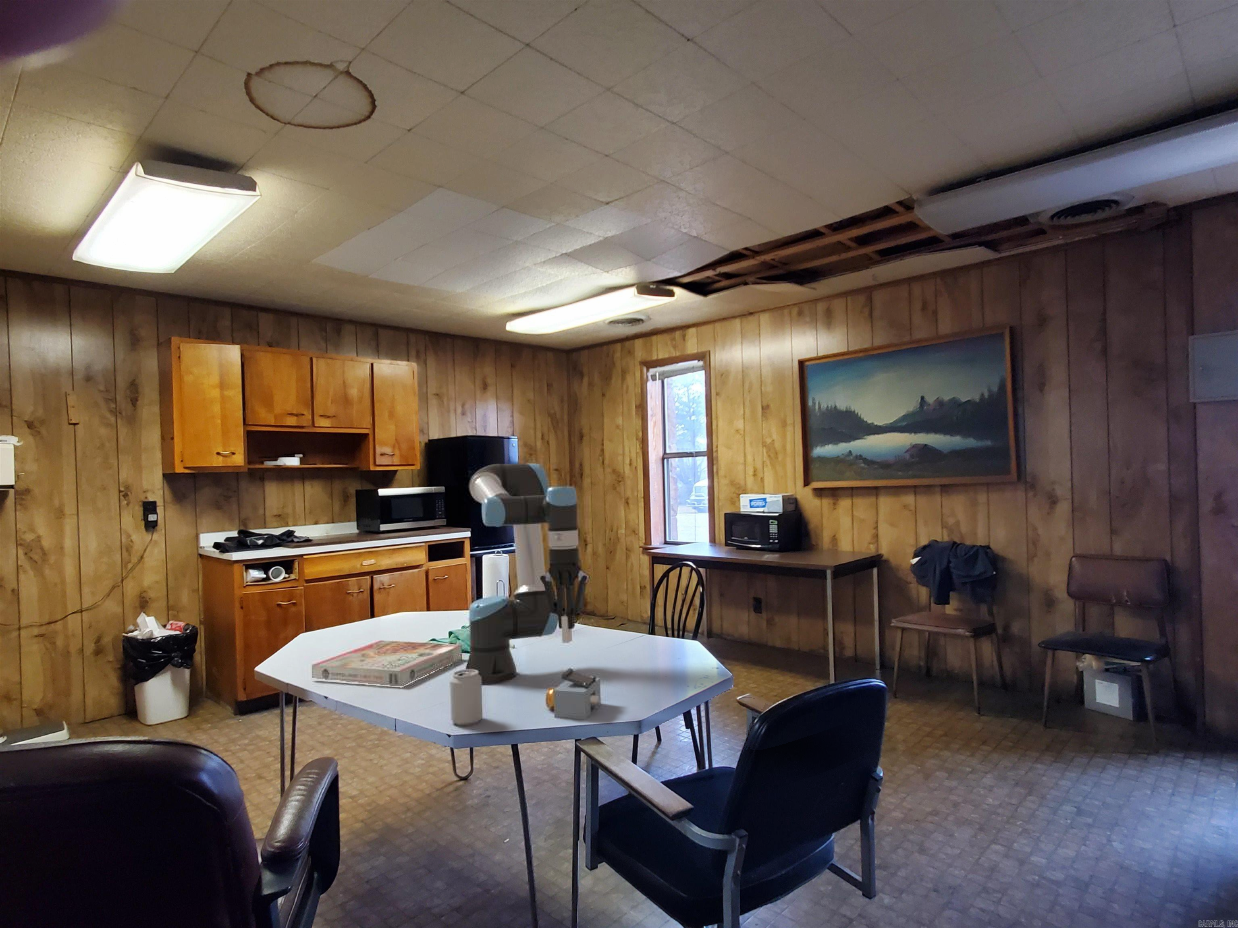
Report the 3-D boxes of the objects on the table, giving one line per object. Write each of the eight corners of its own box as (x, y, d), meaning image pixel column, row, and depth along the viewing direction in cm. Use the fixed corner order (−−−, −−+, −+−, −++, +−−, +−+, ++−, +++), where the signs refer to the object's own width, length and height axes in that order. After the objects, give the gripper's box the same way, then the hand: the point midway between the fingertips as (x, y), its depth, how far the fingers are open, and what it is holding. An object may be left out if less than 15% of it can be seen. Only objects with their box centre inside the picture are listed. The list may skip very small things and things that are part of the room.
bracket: (554, 716, 171) (553, 690, 171) (571, 701, 182) (570, 676, 182) (585, 719, 169) (584, 691, 169) (600, 703, 180) (599, 677, 180)
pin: (546, 710, 175) (545, 690, 175) (553, 704, 180) (553, 684, 180) (595, 714, 171) (594, 693, 172) (601, 707, 176) (600, 687, 176)
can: (461, 715, 174) (459, 666, 175) (488, 717, 172) (486, 668, 173) (445, 725, 167) (443, 675, 168) (473, 727, 165) (471, 676, 165)
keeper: (559, 679, 173) (561, 674, 173) (569, 672, 180) (571, 666, 180) (587, 688, 171) (588, 683, 171) (596, 680, 178) (597, 675, 178)
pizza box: (380, 640, 240) (461, 644, 230) (381, 655, 240) (462, 660, 230) (311, 664, 210) (401, 671, 200) (312, 682, 210) (401, 689, 200)
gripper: (533, 549, 175) (537, 644, 174) (582, 548, 171) (585, 645, 170) (546, 546, 182) (549, 637, 181) (592, 545, 178) (596, 639, 177)
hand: (567, 641), depth 176 cm, fingers closed
